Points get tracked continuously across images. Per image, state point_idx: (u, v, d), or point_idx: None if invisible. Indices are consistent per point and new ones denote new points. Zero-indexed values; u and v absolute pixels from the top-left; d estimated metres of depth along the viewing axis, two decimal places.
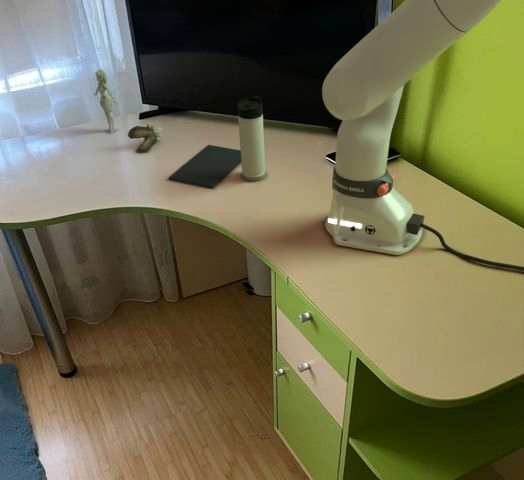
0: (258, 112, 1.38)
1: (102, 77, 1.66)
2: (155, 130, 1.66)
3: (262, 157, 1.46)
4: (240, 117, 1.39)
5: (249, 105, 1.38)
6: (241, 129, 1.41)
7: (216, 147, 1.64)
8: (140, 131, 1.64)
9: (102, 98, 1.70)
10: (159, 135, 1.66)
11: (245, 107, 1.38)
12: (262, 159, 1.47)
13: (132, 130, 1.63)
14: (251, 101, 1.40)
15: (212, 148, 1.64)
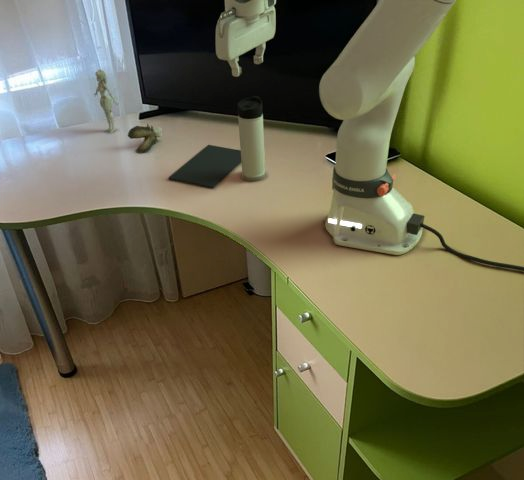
0: (258, 112, 1.38)
1: (102, 77, 1.66)
2: (155, 130, 1.66)
3: (262, 157, 1.46)
4: (240, 117, 1.39)
5: (249, 105, 1.38)
6: (241, 129, 1.41)
7: (216, 147, 1.64)
8: (140, 131, 1.64)
9: (102, 98, 1.70)
10: (159, 135, 1.66)
11: (245, 107, 1.38)
12: (262, 159, 1.47)
13: (132, 130, 1.63)
14: (251, 101, 1.40)
15: (212, 148, 1.64)
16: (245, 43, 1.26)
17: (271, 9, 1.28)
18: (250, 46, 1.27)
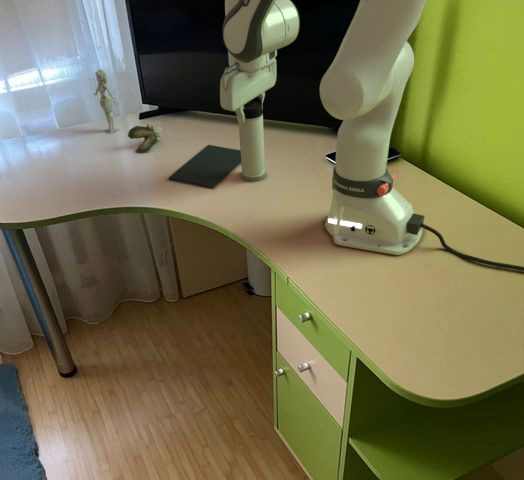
0: (258, 112, 1.38)
1: (102, 77, 1.66)
2: (155, 130, 1.66)
3: (262, 157, 1.46)
4: None
5: (249, 104, 1.38)
6: (241, 129, 1.41)
7: (216, 147, 1.64)
8: (140, 131, 1.64)
9: (102, 98, 1.70)
10: (159, 135, 1.66)
11: (245, 107, 1.38)
12: (262, 159, 1.47)
13: (132, 130, 1.63)
14: (251, 101, 1.40)
15: (212, 148, 1.64)
16: (248, 94, 1.33)
17: (272, 61, 1.36)
18: (252, 96, 1.35)
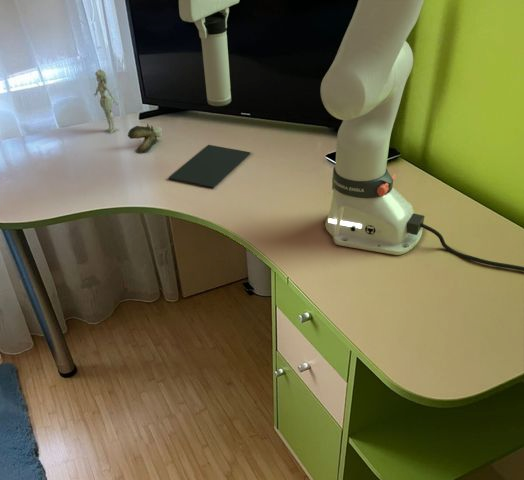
0: (221, 27, 1.32)
1: (102, 77, 1.66)
2: (155, 130, 1.66)
3: (227, 79, 1.40)
4: None
5: (211, 20, 1.32)
6: (204, 47, 1.35)
7: (216, 147, 1.64)
8: (140, 131, 1.64)
9: (102, 98, 1.70)
10: (159, 135, 1.66)
11: (207, 22, 1.32)
12: (227, 82, 1.41)
13: (132, 130, 1.63)
14: (214, 17, 1.34)
15: (212, 148, 1.64)
16: (209, 6, 1.27)
17: None
18: (214, 9, 1.29)
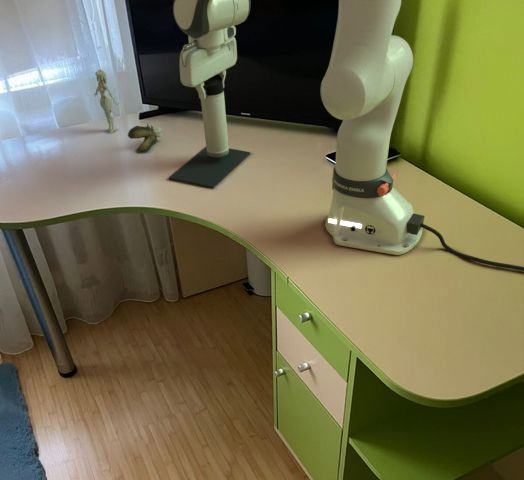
0: (218, 89, 1.43)
1: (102, 77, 1.66)
2: (155, 130, 1.66)
3: (225, 134, 1.52)
4: None
5: (210, 82, 1.44)
6: (203, 106, 1.46)
7: None
8: (140, 131, 1.64)
9: (102, 98, 1.70)
10: (159, 135, 1.66)
11: (206, 84, 1.44)
12: (225, 136, 1.52)
13: (132, 130, 1.63)
14: (212, 79, 1.45)
15: None
16: (208, 71, 1.39)
17: (231, 39, 1.41)
18: (212, 73, 1.41)
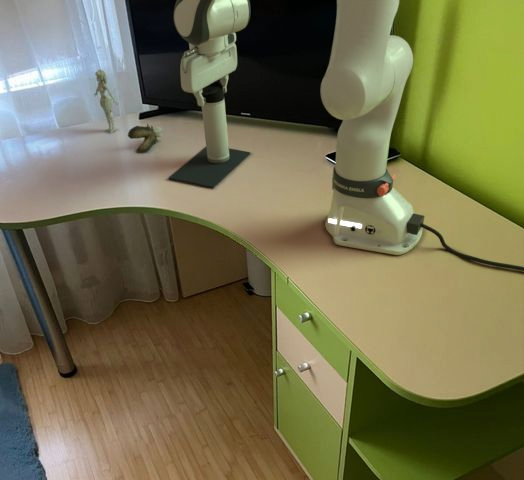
0: (219, 96, 1.44)
1: (102, 77, 1.66)
2: (155, 130, 1.66)
3: (225, 140, 1.53)
4: None
5: (211, 89, 1.45)
6: (204, 113, 1.48)
7: None
8: (140, 131, 1.64)
9: (102, 98, 1.70)
10: (159, 135, 1.66)
11: (207, 92, 1.45)
12: (225, 143, 1.54)
13: (132, 130, 1.63)
14: (213, 86, 1.47)
15: None
16: (208, 77, 1.40)
17: (232, 46, 1.42)
18: (213, 79, 1.42)
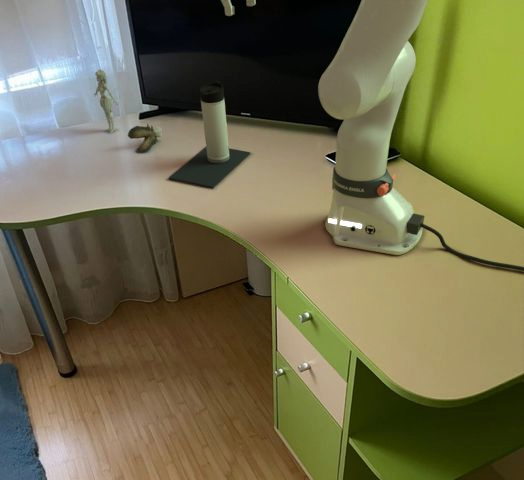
0: (219, 96, 1.44)
1: (102, 77, 1.66)
2: (155, 130, 1.66)
3: (225, 140, 1.53)
4: (202, 101, 1.46)
5: (211, 89, 1.45)
6: (204, 113, 1.48)
7: None
8: (140, 131, 1.64)
9: (102, 98, 1.70)
10: (159, 135, 1.66)
11: (207, 92, 1.45)
12: (225, 143, 1.54)
13: (132, 130, 1.63)
14: (213, 86, 1.47)
15: None
16: None
17: None
18: None
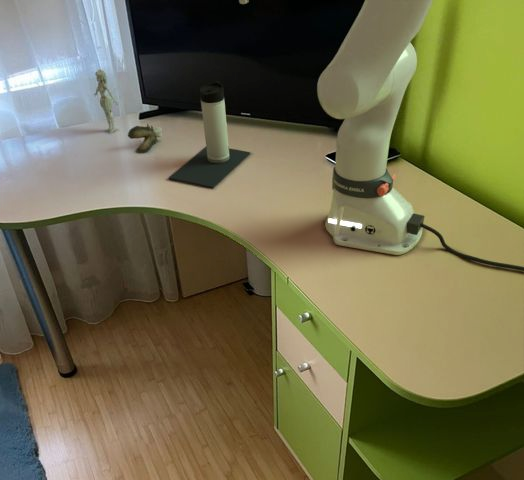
0: (219, 96, 1.44)
1: (102, 77, 1.66)
2: (155, 130, 1.66)
3: (225, 140, 1.53)
4: (202, 101, 1.46)
5: (211, 89, 1.45)
6: (204, 113, 1.48)
7: None
8: (140, 131, 1.64)
9: (102, 98, 1.70)
10: (159, 135, 1.66)
11: (207, 92, 1.45)
12: (225, 143, 1.54)
13: (132, 130, 1.63)
14: (213, 86, 1.47)
15: None
16: None
17: None
18: None
